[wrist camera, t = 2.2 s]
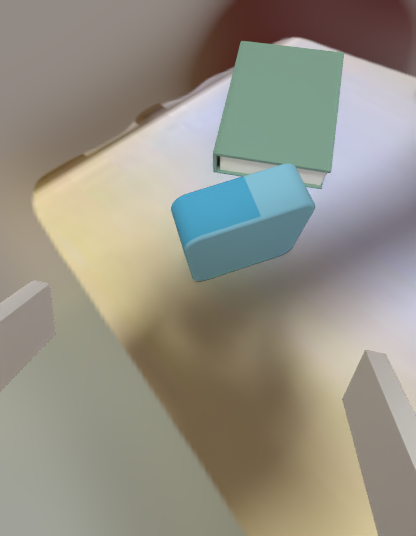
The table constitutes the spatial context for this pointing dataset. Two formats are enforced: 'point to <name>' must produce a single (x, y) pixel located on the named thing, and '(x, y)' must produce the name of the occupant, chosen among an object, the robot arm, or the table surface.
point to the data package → (242, 220)
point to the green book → (280, 112)
